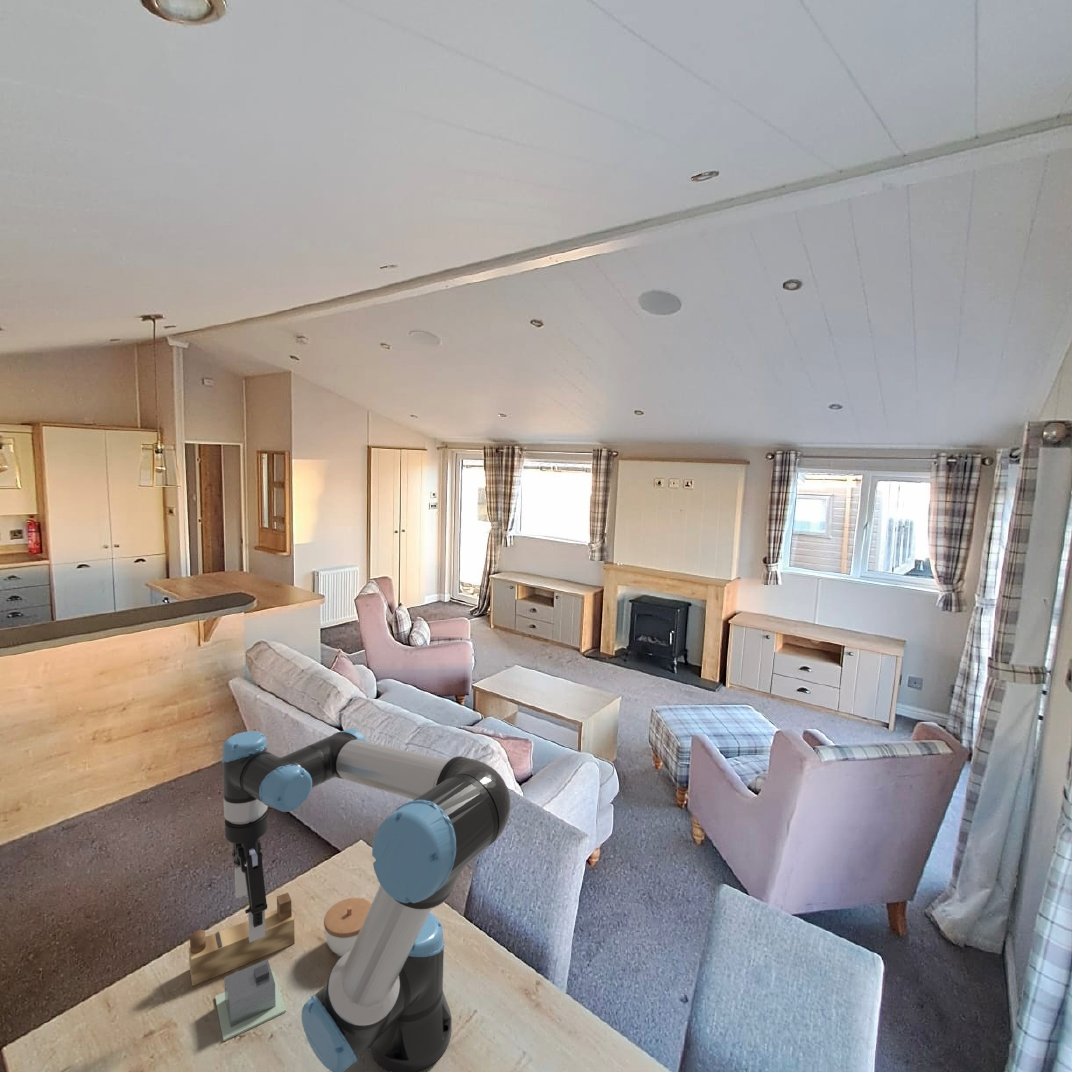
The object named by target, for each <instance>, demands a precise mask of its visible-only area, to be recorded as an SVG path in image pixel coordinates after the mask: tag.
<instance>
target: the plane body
mask: <svg viewBox="0 0 1072 1072" xmlns="http://www.w3.org/2000/svg"><path fill="white" fill-rule="evenodd" d="M292 911H293V910H292V899H291V897H290V894H289V892H285V893H283V894H279V895H278V896H277V895H276V909H275V910H272V911H271V912H267V913H265V937H262V938H260V939H257V940H255V941H252V942H249V929H248V920H246V921H244V922H241V923H239V924H236V925H233V926H231V927H228V928H225V929H222V930H220V931H217V932H215V933H213V934H209V935H207V936H206V931H205V930H203V929H198V930H195V931H194V932H192V933H191V934H190V936H189V943H188V956H189V957H188V959H189V960H188V961H189V974H190V980H191V986H192V987H194V986H196V985H199V984H202V983H203V982H206V981H209V980H210V979H213V978H215V977H218V976H221V975H222V974H225V973H227V972H230V971H232V970H235V969H237V968H239V967H242V966H244V965H247V964H249V963H251V962H253V961H256V960H258V959H261V958H264V957H266V956H268V955H270V954H273V953H276V952H278V951H280V950H282V949H284V948H287V947H289V946H292V945H294V944H295V943H296V942H295V941H296V939H295V938H296V937H295V917H294V915H293V912H292Z"/></svg>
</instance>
